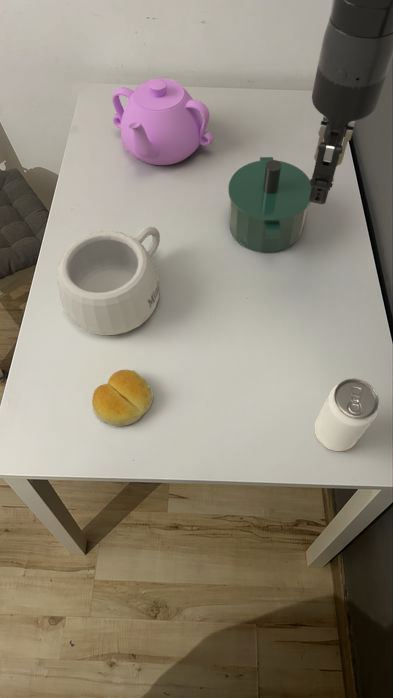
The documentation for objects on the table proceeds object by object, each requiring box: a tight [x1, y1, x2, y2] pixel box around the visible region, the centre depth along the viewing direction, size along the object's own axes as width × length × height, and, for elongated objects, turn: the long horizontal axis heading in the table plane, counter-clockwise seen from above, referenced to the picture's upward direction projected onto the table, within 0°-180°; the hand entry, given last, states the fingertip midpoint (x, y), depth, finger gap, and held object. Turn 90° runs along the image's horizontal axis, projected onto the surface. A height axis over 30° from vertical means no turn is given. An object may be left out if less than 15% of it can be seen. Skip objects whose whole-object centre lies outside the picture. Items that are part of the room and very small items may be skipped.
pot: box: [229, 156, 309, 254], centre depth 91 cm, size 14×19×8 cm
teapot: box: [111, 78, 214, 166], centre depth 99 cm, size 22×22×14 cm
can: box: [314, 378, 380, 452], centre depth 69 cm, size 6×6×12 cm
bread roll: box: [91, 369, 154, 427], centre depth 76 cm, size 8×9×4 cm
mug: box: [56, 226, 161, 336], centre depth 83 cm, size 21×17×10 cm
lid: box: [227, 159, 312, 222], centre depth 85 cm, size 15×15×6 cm
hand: (323, 179), depth 68 cm, fingers open, 8 cm apart
